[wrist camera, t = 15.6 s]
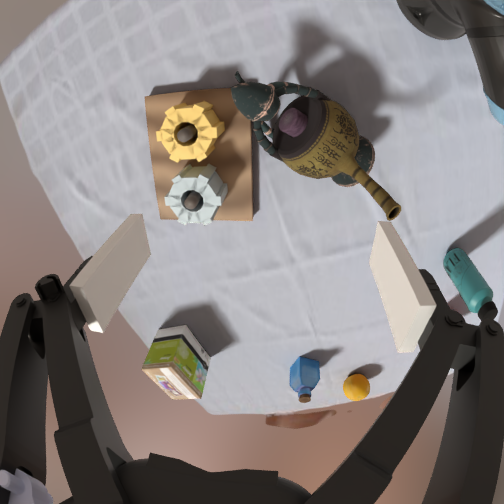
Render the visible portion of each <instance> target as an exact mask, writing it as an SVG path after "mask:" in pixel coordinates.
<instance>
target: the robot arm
mask: <svg viewBox="0 0 504 504" xmlns="http://www.w3.org/2000/svg"><path fill="white" fill-rule="evenodd" d="M397 3H398V5H399V7H400V9H401V11H402V12H403V14H404V15H405V17H406V18H407V19H408V20H409V21H410V22H411V23H412V24H413V25H414V26H415V27H416V28H417V29H418V30H420V31H421V32H423V33H424V34H426V35H428V36H430V37H433V38H436V39H440V40H451V39H457V38H460V37H462V36H464V35H465V34H467V36H468V40H469V42H470V45H471V48H472V51H473V53H474V56H475V59H476V63H477V66H478V69H479V72H480V76H481V79H482V83H483V91H484V93H485V96H486V97H487V100H488V104H489V108H490V111H491V113H492V115H493V116H494V118H495V119H496V120H497V121H498V122H499V123H501V124H502V125H504V0H397ZM150 255H151V252H150V248H149V243H148V239H147V234H146V229H145V225H144V220H143V215H142V214H131V215H130V216H129V217H128V218H127V219H126V220H125V221H124V222H123V223H122V224H121V225H120V226H119V228H118V229H117V230H116V231H115V232H114V233H113V234H112V235H111V236H110V237H109V239H108V240H107V241H106V242H105V243H104V244H103V245H102V247H101V248H100V249H99V250H98V251H97V252H96V254H95V255H94V256H91V257H89V258H88V259H86V260H85V261H84V262H83V263H82V264H81V265H80V267H79V269H77V270H76V271H75V274H73V275H72V276H71V278H70V279H69V280H68V281H67V282H66V284H65V285H64V286H62V284H61V282H60V279H59V277H58V275H56V274H50V275H47V276H45V277H43V278H41V279H40V280H39V281H38V282H37V283H36V286H35V289H36V291H37V293H38V295H39V297H40V299H41V300H39V301H33V299H32V297H31V295H30V294H28V293H24V294H21V295H19V296H17V297H16V298H15V299H14V300H13V302H12V303H11V306H10V309H9V312H8V314H7V317H6V321H5V324H4V327H3V330H2V333H1V336H0V504H53V498H52V497H51V495H50V494H49V493H48V491H47V489H46V487H45V484H46V443H45V420H46V395H47V382H48V375H49V381H50V387H51V393H52V398H53V403H54V408H55V412H56V417H57V421H58V425H59V430H57V431H55V433H54V438H55V443H56V445H57V450H58V454H59V457H60V460H61V464H62V467H63V470H64V473H65V476H66V479H67V482H68V484H69V487H70V490H71V493H72V495H73V496H72V497H70V498H68V499H67V500H65V501H63V502H61V503H59V504H374V503H375V502H376V500H377V499H378V498H379V497H380V495H381V494H382V493H383V491H384V490H385V489H386V487H387V486H388V484H389V483H390V481H391V479H392V474H393V472H394V470H395V468H396V467H397V465H398V464H399V462H400V461H401V460H402V458H403V456H404V455H405V453H406V452H407V450H408V449H409V447H410V445H411V444H412V442H413V440H414V439H415V437H416V435H417V434H418V432H419V430H420V428H421V427H422V425H423V423H424V421H425V419H426V418H427V416H428V414H429V412H430V410H431V408H432V406H433V404H434V402H435V400H436V398H437V396H438V394H439V392H440V390H441V387H442V386H443V383H444V381H445V379H446V377H447V374H448V372H449V370H450V368H453V369H454V377H453V384H452V391H451V397H450V403H449V409H448V414H447V419H446V424H445V429H444V433H443V437H442V441H441V445H440V449H439V453H438V457H437V460H436V464H435V467H434V471H433V474H432V477H431V480H430V483H429V486H428V489H427V491H426V494H425V497H424V500H423V502H422V504H492V501H493V496H494V492H495V488H496V484H497V479H498V473H499V468H500V462H501V456H502V448H503V441H504V332H503V329H502V327H501V326H500V324H499V323H497V322H496V321H494V320H492V319H488V318H487V319H483V320H482V321H481V323H480V325H479V326H475V325H471V324H467V323H466V322H465V319H464V318H463V317H462V315H461V314H459V313H458V312H456V311H454V310H450V308H449V306H448V304H447V302H446V300H445V298H444V296H443V294H442V293H441V291H440V289H439V287H438V285H436V284H437V283H436V281H435V280H434V278H433V276H432V275H431V274H430V273H429V272H428V271H426V270H425V269H418V268H417V266H416V264H415V263H414V261H413V259H412V257H411V255H410V254H409V252H408V250H407V248H406V247H405V245H404V243H403V242H402V240H401V238H400V236H399V235H398V233H397V231H396V230H395V228H394V227H393V225H392V223H391V222H384V221H378V224H377V229H376V234H375V238H374V243H373V248H372V252H371V256H370V261H369V265H370V267H371V270H372V273H373V276H374V278H375V281H376V284H377V287H378V290H379V293H380V296H381V299H382V302H383V305H384V308H385V311H386V314H387V318H388V321H389V324H390V327H391V331H392V334H393V338H394V341H395V345H396V348H397V352H398V353H404V352H413V351H414V349H415V347H416V346H417V344H419V347H420V352H419V354H418V355H417V357H416V359H415V360H414V362H413V364H412V366H411V367H410V369H409V371H408V373H407V374H406V376H405V377H404V379H403V381H402V382H401V384H400V385H399V387H398V389H397V390H396V392H395V393H394V395H393V396H392V398H391V399H390V401H389V402H388V404H387V405H386V407H385V408H384V409H383V411H382V412H381V414H380V415H379V417H378V418H377V419H376V421H375V422H374V423H373V425H372V426H371V428H370V429H369V430H368V431H367V433H366V434H365V435H364V437H363V438H362V439H361V441H360V442H359V443H358V444H357V445H356V447H355V448H354V449H353V450H352V452H351V453H350V454H349V455H348V456H347V457H346V459H345V460H344V461H343V462H342V463H341V464H340V465H339V467H338V468H337V469H336V470H335V471H334V472H333V473H332V474H331V475H330V476H329V478H328V479H327V480H326V481H325V482H324V483H323V484H322V485H321V486H320V487H319V488H318V489H317V490H316V491H315V492H314V493H313V494H312V495H311V494H310V493H309V492H308V491H307V490H306V489H304V488H303V487H301V486H300V485H298V484H296V483H294V482H293V481H290V480H287V479H285V478H281V477H278V471H264V470H263V471H262V470H250V469H243V470H233V471H224V472H207V471H205V470H202V469H200V468H198V467H195V466H193V465H191V464H188V463H186V462H184V461H182V460H180V459H175V458H170V457H166V456H162V455H158V454H153V453H150V455H149V458H148V459H139V460H133V458H132V456H131V455H130V454H129V452H128V451H127V449H126V448H125V446H124V444H123V442H122V439H121V437H120V435H119V432H118V430H117V427H116V425H115V423H114V420H113V417H112V415H111V412H110V410H109V407H108V404H107V402H106V399H105V396H104V393H103V390H102V387H101V384H100V381H99V378H98V375H97V372H96V369H95V365H94V362H93V359H92V355H91V351H90V348H89V344H88V340H87V336H86V333H85V331H84V329H83V326H84V325H85V323H86V322H87V324H88V326H89V328H90V330H92V331H96V332H101V333H104V331H105V329H106V327H107V326H108V324H109V322H110V320H111V319H112V317H113V315H114V313H115V311H116V310H117V308H118V307H119V305H120V303H121V301H122V300H123V298H124V296H125V295H126V293H127V291H128V290H129V288H130V287H131V285H132V283H133V282H134V280H135V278H136V277H137V275H138V274H139V272H140V270H141V269H142V267H143V266H144V264H145V263H146V261H147V259H148V258H149V256H150Z"/></svg>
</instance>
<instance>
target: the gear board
mask: <svg viewBox="0 0 504 504" xmlns="http://www.w3.org/2000/svg"><path fill="white" fill-rule="evenodd" d="M203 101H206V102H208V103H210V104H212V105H213V107H212V110H213V111H214V112H215V114H216V115H217V117H218V118H219V120H220V122H224V127H225V131H224V132H223V133H222V134H221V135H220V136H218V138H217V140H216V141H215V143H214V144H213V145H214V146H215V149H214V150H213V151H212V152H211V153H210V154H209V155H208V156H207V157H206V158H204V159H203V160H201V161H200V162H198V160H197V159H196V158H195V159H183V160H181V161H179V162H178V163H177V162H175V161H173V160H171V159H169V157H170V155H171V154H169V152H168V151H167V150H166V148H165V147H164V145H163V144H162V141H157V135H156V131H158V130H160V129H161V127H162V125H163V122H164V120H165V118H166V117H167V115H166V114H165V112H166V111H167V110H168V109H170V108H171V107H172V106H175V105H179V104H182V103H186V104H187V106H188V105H194V104H197V103H200V102H203ZM145 107H146V117H147V127H148V136H149V145H150V153H151V160H152V168H153V175H154V182H155V188H156V195H157V201H158V207H159V213H160V218H161V219H174V220H178V219H179V218H178V217H177V216H176V214H175V213H174V212H173V210H172V209H171V208H170V206H166V204H165V198H164V197H165V196H166V194H167V193H168V192H169V191H170V190H171V188H172V186H173V184H174V183H173V181H172V179H173V178H174V177H175V176H176V175H177V174H178V173H179V172H180V171H181V170H182V169H183V168H185V167H186V166H188V165H189V164H190V165H191V166H192V167H199V166H207V165H208V164H211V165H213V166H214V167H216V170H215V172H217V174H218V175H219V177H220V178H221V180H222V181H223V183H227V188H228V192H227V194H226V197H225V199H224V201H223V203H222V205H221V206H219V209H218V211H217V213H216V215H215V217H214V219H213V220H233V221H252V220H253V172H252V121H251V120H249V119H247V118H246V117H245V116H244V115H243V114H242V113H241V112H240V111H239V110H238V108H237V107H236V105H235V103H234V101H233V98H232V94H231V88H219V89H204V90H192V91H182V92H174V93H165V94H158V95H151V96H146V97H145ZM192 137H193V138H198V130H197V128H196V127H195V126H194V124H192V123H189V122H187V123H186V127H185V128H183V129H181V130H180V131H179V132H178V133H177V138H178V140H179V141H181V142H187V141H188V140H190V139H191V138H192ZM201 198H202V196H201V194H200V193H199V192H197V191H195V190H192V192H191V193H190V194H189V196H188V197H187V198H186V200H185V202H184V204H185V206H186V207H187V208H188V209H194V208H195V207H196V206H197V204H198V202H199V201H200V199H201Z"/></svg>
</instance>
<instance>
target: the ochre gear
mask: <svg viewBox="0 0 504 504" xmlns="http://www.w3.org/2000/svg"><path fill="white" fill-rule="evenodd" d="M212 107H213V105H212V104H210V103H208V102H206V101H203V102H200V103H197V104H194V105H188V106H187V104H186V103H182V104H179V105H175V106H172V107H171V108H170V109H168V110H167V111H166V112H165V114H166V115H167V117H166V118H165V120H164V122H163V125H162V127H161V129H160V130H158V131H156V135H157V141H162V144H163V145H164V147H165V148H166V150H167V151H168V152H169V154H171V155H170V157H169V159H171V160H173V161H175V162H177V163H178V162H179V161H181V160H183V159H195V158H196V159H197V160H198V162H200V161H201V160H203V159H204V158H206V157H207V156H208V155H209V154H210V153H211V152H212V151H213V150H214V149H215V146H214V145H213V144H214V143H215V141H216V140H217V138H218V136H220V135H221V134H222V133H223V132H224V131H225V127H224V122H220V120H219V118H218V117H217V115H216V114H215V112H214V111H213V110H212ZM187 122H189V123H192V124H194V126H195V127H196V128H197V130H198V138H193V137H192V138H191V139H190V140H188V141H187V142H181V141H179V140H178V138H177V133H178V132H179V131H180V130H181V129H183V128H185V127H186V123H187Z"/></svg>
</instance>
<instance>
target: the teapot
mask: <svg viewBox="0 0 504 504" xmlns="http://www.w3.org/2000/svg"><path fill="white" fill-rule="evenodd" d="M235 77H236V79H237V80H238V82H239V83H240V84H238V85H236V86H234V87H231V94H232V98H233V101H234V103H235V105H236V107H237V108H238V110H239V111H240V112H241V113H242V114H243V115H244V116H245V117H246V118H247V119H249V120H251V121H253V122H254V128H253V130H254V133H255V135H256V137H257V142H258V143H259V144H260V145H261V146H262V147H263V148H264V150H265V151H266V152H268V153H269V154H270V155H271V156H273V157H275V158H277V159H279V160H281V161H283V162H284V163H285V164H286V165H287V166H288V167H290V168H291V169H292V170H293V171H295V172H297V173H298V174H300V175H304V176H307V177H311V178H316V179H320V178H327V177H331V178H332V180H333V181H334V182H335V183H337V184H338V185H340V186H344V187H350V186H354V185H356V184H358V183H360V184H361V185H362V186H363V187H364V188H365V189H366V190H367V191H368V192H369V193H370V194H371V196H372V197H373V198H374V199H375V201H376V202H377V203H378V204H379V205H380V207H381V208H382V209H383V210H384V212H385V213H386V217H387V220H390V221H391V220H393V219H395V218H396V217H397V216H398V215H399V213H400V211H401V206H400V205H399V204H398V203H396V202H395V201H394V199H393V198H392V197H391V196H390V195H389V194H388V193H387V192H386V191H385V190H384V189H383V188H382V187H381V186H380V185H379V184H378V183H376V182H375V181H374V180H373V179H372V178H371V177H370V176H369V175H368V174H369V173H370V171H371V169H372V167H373V164H374V161H375V151H374V148H373V145H372V144H371V143H370V141H369V140H368V139H366V138H364V137H362V136H359V134H358V131H357V127H356V124H355V121H354V119H353V118H352V117H351V116H350V114H349V113H348V112H347V111H346V110H345V109H344V108H343V107H342V106H341V105H340V104H338V103H337V102H335V101H332V100H330V99H329V98H328V97H327V96H325V95H324V94H323V93H321V92H320V91H319V90H315V89H313V88H311V87H305V86H302V85H298V84H294V83H288V82H273V83H270V84H268V85H265V84H261V83H255V82H247V83H245V82H244V81H243V79H242V78H241V77H240V75H239V73H238V71H237V72H236V74H235ZM291 93H295V94H300V95H303V96H301V97H299V98H297V99H295V100H294V101H292V102H291V103H290V104H289V105H288V106H287V107H286V108H285V109H284V111H283V112H282V113H281V115H280V117H279V118H278V120H277V122H276V125H275V127H274V130H273V129H272V128H270V127H269V126H268V125H267V124H266V123H265V122H264V121H269V120H271V119H272V118H273V117H274V116H275V115H276V114H277V112H278V110H279V108H280V100H279V98H278V97H279V96H281V95H284V94H291ZM263 132H264V133H265V134H266V135H267V136H269V137H271V138H272V140H273V144H272V142H270V141H269V140H268V139H267V137H266V136H265V135H264V133H263Z"/></svg>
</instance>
